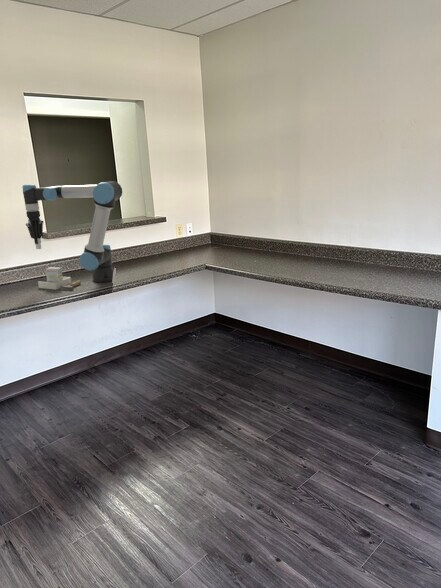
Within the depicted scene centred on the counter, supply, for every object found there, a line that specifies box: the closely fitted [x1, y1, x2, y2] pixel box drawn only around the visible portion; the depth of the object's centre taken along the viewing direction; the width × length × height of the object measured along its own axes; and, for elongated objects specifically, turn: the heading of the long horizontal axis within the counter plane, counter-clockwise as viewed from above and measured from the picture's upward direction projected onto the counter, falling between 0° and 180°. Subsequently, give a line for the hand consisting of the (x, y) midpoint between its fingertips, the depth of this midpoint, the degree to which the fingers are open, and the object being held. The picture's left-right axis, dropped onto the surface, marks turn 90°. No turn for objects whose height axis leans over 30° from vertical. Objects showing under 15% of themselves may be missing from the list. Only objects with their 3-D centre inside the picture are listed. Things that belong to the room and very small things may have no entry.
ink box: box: [45, 266, 64, 283], centre depth 276 cm, size 9×5×12 cm, turn 78°
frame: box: [37, 276, 73, 291], centre depth 278 cm, size 13×15×4 cm
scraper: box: [59, 280, 82, 291], centre depth 274 cm, size 13×8×2 cm, turn 159°
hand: (38, 248), depth 277 cm, fingers closed
